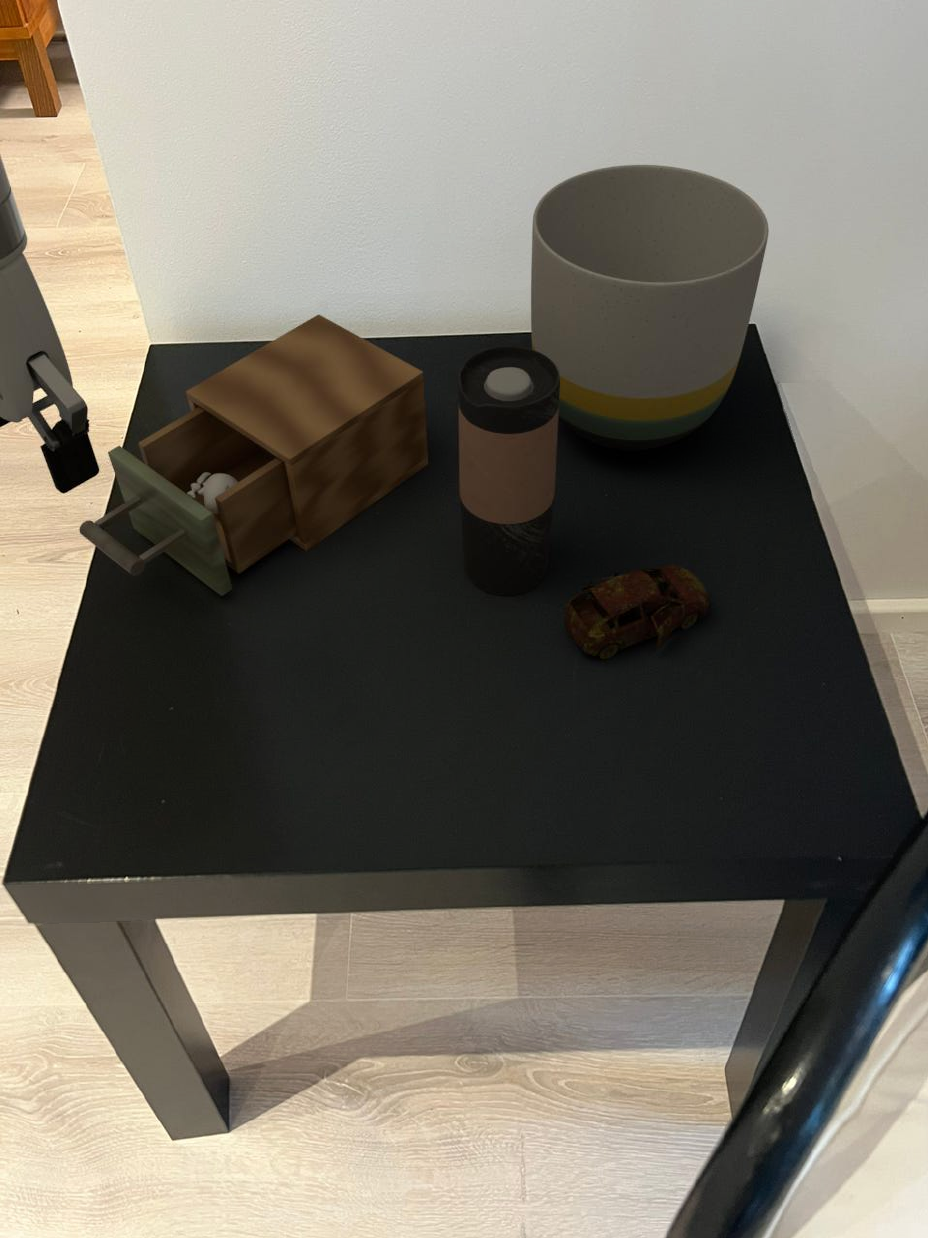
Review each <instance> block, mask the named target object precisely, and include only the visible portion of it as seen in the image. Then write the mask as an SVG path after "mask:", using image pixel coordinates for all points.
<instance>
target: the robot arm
mask: <svg viewBox="0 0 928 1238" xmlns="http://www.w3.org/2000/svg"><path fill="white" fill-rule="evenodd" d="M27 246H28V235H27V232H26V229H25V227H24V224H23V220H22V217H21V214H20V211H19V208H18V204H17V202H16V199H15V196H14V192H13V189H12V186H11V183H10V180H9V177H8V174H7V171H6V168H5V165H4V162H3V159H2V156H1V154H0V428H2V427H4V426H7V425H8V424H10V423H16V424H18V423H21V422H22V421H23V420H24V419H26V418H28V420H29V421H30V423H31V424H32V425H33V427H34V429H35V430H36V431H37V433H38V435H39V436H40V438H41V439H42V441H43V442H44V443H43V444H41V445H40V449H41V453H42V456H43V458H44V460H45V463H46V466H47V469H48V471H49V475H50V476H51V479H52V482H53V485H54V487H55V490H57V491H58V492H59V493H60V494H67V493H68V492H70V491H72V490H74V489H75V488H78V487H79V486H80V485H82V484H84V483H86V482H87V481H90V480H91V479H93V478H94V477H97V476H98V475H99V473H100V466H99V463H98V461H97V457H96V454H95V452H94V447H93V445H92V442H91V439H90V435H89V433H90V419H88V413H89V409H88V404H87V403H86V401H85V400H84V398H83V397H82V396H81V395H80V394H79V393H78V391H77V390H76V389H75V387H74V384H73V383H74V382H73V377H72V374H71V370H70V367H69V363H68V360H67V356H66V354H65V350H64V347H63V345H62V343H61V340H60V337H59V334H58V331H57V329H56V326H55V323H54V321H53V318H52V316H51V314H50V310H49V308H48V306H47V303H46V301H45V299H44V296H43V294H42V291H41V289H40V287H39V284H38V282H37V280H36V278H35V276H34V273H33V271H32V269H31V267H30V264H29V262H28V260H27V258H26V256H25V255H24V251H25V250H26V249H27ZM40 389H41V390H42V391H43V393H45V395H46V396H43V397H42V398H40V399H38V400H36V401H34V394H35V393H34V392H36V391H38V390H40ZM54 405H55V407H56V409H57V410H58V415H59V417H60V420H58V421H56V423H55V424H54V425H53V427H51V426H50V424H49V423H48V422H47V420H46V419H45V418H46V417H44V415H43V414H42V411H45V410H46V409H48V408H50V407H52V406H54Z"/></svg>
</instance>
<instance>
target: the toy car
mask: <svg viewBox="0 0 928 1238" xmlns="http://www.w3.org/2000/svg"><path fill="white" fill-rule="evenodd" d="M624 572H627V573H624ZM619 573H622V574H620V575H618V574H619ZM605 579H607V580H605ZM600 580H605V581H602V582H600V583H597V584H592V583H593V582H595V581H600ZM588 595H590V597H588ZM709 605H710V599H709V594H708V592H707V590H706V588H705V586H704V584H703V583H702V582H701V581H700V579H699V578H698V577H697V576H696V575H695V574H694V573H693V572H691V571H690V570H688V569H686V568H684V567H682V566H680V565H675V564H671V565H670V564H668V565H664V566H658V567H655V568H636V569H633V570H632V569H628V570H623V571H617V572H614V575H613V577H612V576H608V577H603V578H598V579H594V580H590V582H589V583H588V584H587V585H584V586H582V588H581V592H580V593H578V594H576V595H575V596H574V597H572V598H571V599H570V600H569V601H568V602H567V603H566V607H565V608H566V611H565V613H564V614H563V615H564V626H565V628H566V630H567V631H568V633H569V635H570V636H571V638H572V639H573V640H574V642H575V644H576V645H577V646H578V647H579V649H580V650H581V651H582V652H583V653H585V654H586V655H589V656H593V657H596V656H597V655H598V656H599V658H600V659H601V660H608V659H610V658H612V657H613V656H615V655H616V653H618V650H619V651H620V650H621V651H622V650H624V649H625V648H628V647H631V646H634V645H636V644H639V643H640V642H645V641H646V640H649V639H652V638H655V637H657V640H656V643H655V644H656V645H655V649H654V652H656V651H657V650H658V649H659V648H660V647H661V646H662V644H663V643H664V642H665V641H666V640H667V638H668V637H669V636H670V635H671V634H672V632H674V630H675V629H678V628H680V627H681V629H683V630H686V629H689V628H691V627H692V626H693V625H694V624H695V623H696V621H697V620H698V619H704V617H705V616H706V615H707V611H708V609H709Z"/></svg>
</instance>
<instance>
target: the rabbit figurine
mask: <svg viewBox="0 0 928 1238" xmlns="http://www.w3.org/2000/svg"><path fill="white" fill-rule="evenodd" d="M209 475H211V474H210V473H208V472H205V473H203V474H202V475H201V476H200V477H199V478H198V480H197V483H192V484H191V489H192V491H189V492H188V493H187V494H188V495H189V496H190V497H192V498H195V494H194V492H196V491H198V490H199V491H198V493H199V494H200V495H203V496H204V504H205V507H206V509H208V510H209V511H211V512H212V513H214V514H219V512H218V509H217V505H216V501H215V497H217V496H218V495H220V494H221V493H223V492H224V491H226V490H227V489H229V488H230V487H232V486H234V485H235V484H237V483H238V481H237V480H236V479H235V478H233V477H232V476H230V475H227V474H222V473H218V474H213V475H212V476H210V477H209V478H208V479H207V480H206V481H205V482H204V483H203V481H204V480H205V479H206V478H207V477H208V476H209ZM202 483H203V485H204V487H203V488H202V489H200V488H201V486H200V484H202Z"/></svg>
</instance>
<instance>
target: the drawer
mask: <svg viewBox="0 0 928 1238" xmlns="http://www.w3.org/2000/svg"><path fill="white" fill-rule="evenodd" d="M137 445H138V448H139V452H140V454H141V458H142V461H141V460H140V459H139V458H137V457H136V456H134V455H133V454H132V453H130V452H129V451H128V450H126V449H125V448H123V447H122V446H121V445H117V446H116V447H114V448H113V449H111V450H109V451H108V452H107V455H108V457H109V461H110V464H111V466H112V469H113V472H114V475H115V478H116V481H117V484H118V487H119V490H120V492H121V495H122V496H121V497H122V498H123V501H124V503H123V504H121V505H120V506H118V507H116V508H114V509H113V510H111V511H110V512H108V513H107V514H105V515H103V516H101V517H100V518H99V519H97V520H95V521H93V520H89V519H88V520H85V521H83V522H82V523H81V524H80V526H79V529H78V530H79V534H80V535H82V536H83V537H84V538H85V539H86V540H87V541H88V542H89V543H91V544H92V545H94V546H95V547H96V548H98V549H99V550H100V551H101V552H102V553H104V555H106V556H107V557H108V558H110V559H111V560H112V561H114V563H116V564H117V565H118V566H120V568H122V569H123V570H124V571H126V572H127V573H128V574H130V575H131V576H133V577H138V576H139V575H141V574H142V573H143V572H144V570H145V568H146V565H147V564H148V563H150V562H151V561H153V560H154V559H155V558H157V557H158V556H160V555H162V554H163V553H165V554H166V555H167V556H169V557H170V558H172V559H173V560H174V561H176V563H177V564H179V565H180V566H182V567H183V568H184V569H186V570H187V571H188V572H189V573H191V574H192V575H193V576H195V577H196V578H197V579H199V580H200V581H201V582H202V583H204V584H205V585H206V586H208V587H209V588H210V589H211V590H212V591H214V592H215V593H217V594H218V595H219V596H221V597H223V596H225V595H226V594H227V593H229V592H230V591H232V590H233V586H232V581H231V578H230V573H229V569H228V567H229V568H230V569H232V570H233V571H234V572H235V573H237V574H241V573H242V572H244V571H245V570H246V569H248V568H250V567H251V566H252V565H254V564H255V563H257V562H258V561H259V560H261V559H262V558H263V557H264V558H265V556H267V555H268V554H269V553H271V552H273V550H276V549H277V548H278V547H279V546H281V545H282V544H283V543H285V542H287V541H288V540H289V538H291V537H292V536H294V535H295V534H296V533H298V531H297V525H296V520H295V514H294V509H293V504H292V498H291V493H290V487H289V482H288V477H287V471H286V466H285V462H284V461H282V460H281V459H279V458H278V457H276V456H274V455H273V454H271V453H270V452H268V451H267V450H265V449H264V448H262V447H261V446H259V445H258V444H256V443H255V442H253V441H252V440H250V439H249V438H247V437H246V436H244V435H242V434H241V433H239V432H238V431H236V430H235V429H233V428H232V427H230V426H229V425H227V424H226V423H224V422H223V421H221V420H220V419H218V418H217V417H215V416H214V415H212V414H211V413H209V412H207V411H206V410H204V409H203V408H201V407H198V408H196V409H195V410H193V411H191V410H190V412H188V413H186V414H185V415H183V416H181V417H179V418H177V419H176V420H175V421H173V422H171V423H169V424H167V425H166V426H163V428H161V429H159V430H157V431H156V432H154V433H152V434H151V435H149V436H148V437H146V438H144V439H142V440H141V441H139V442H137ZM205 472H208V473H210V474H211V475H209V476H208V477H207V478H206V479H205V480H204V481H203V483H204V482H205V481H206V480H207V479H208V478H209V477H210V476H212V475H213V474H218V473H222V474H227V475H230V476H232V477H233V478H235V479H236V480H237V481H238V483H237V484H235V485H234V486H232V487H230V488H229V489H227V490H226V491H224V492H223V493H221V494H220V495H218V496H217V497H215V501H216V505H217V509H218V512H219V514H214V513H212V512H211V511H209V510H208V509H206V507H205V504H204V496H203V495H200V494H199V493H198V491H199V490H198V491H196V492H194V494H195V498H192V497H190V496H189V495H188V494H187V493H188V492H189V491H192V489H191V484H192V483H197V480H198V478H199V477H200V476H201V475H202V474H203V473H205ZM203 483H202V484H200V486H201V488H200V489H202V488H203V487H204V485H203ZM127 514H128V516H129V519H130V521H131V525H132V528H133V529H134V530H135V531H136V532H138V533H139V534H140V535H142V536H143V537H144V538H145V539H147V540H148V541H149V542H151V543H152V544H153V545H154V546H152V547H150V548H149V549H148V550H146V551H145V552H143V553H142V554H140V555H139V556H138V555H136V554H135V553H133V552H132V551H131V550H129V549H128V548H127V547H126V546H125V545H123V544H122V543H121V542H119V540H117V539H116V538H114V537H113V536H112V535H110V534H109V533H108V532H107V531H105V530H104V528H106V527H107V526H109V525H111V524H112V523H114V522H115V521H117V520H119V519H120V518H122V517H124V516H125V515H127Z"/></svg>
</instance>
